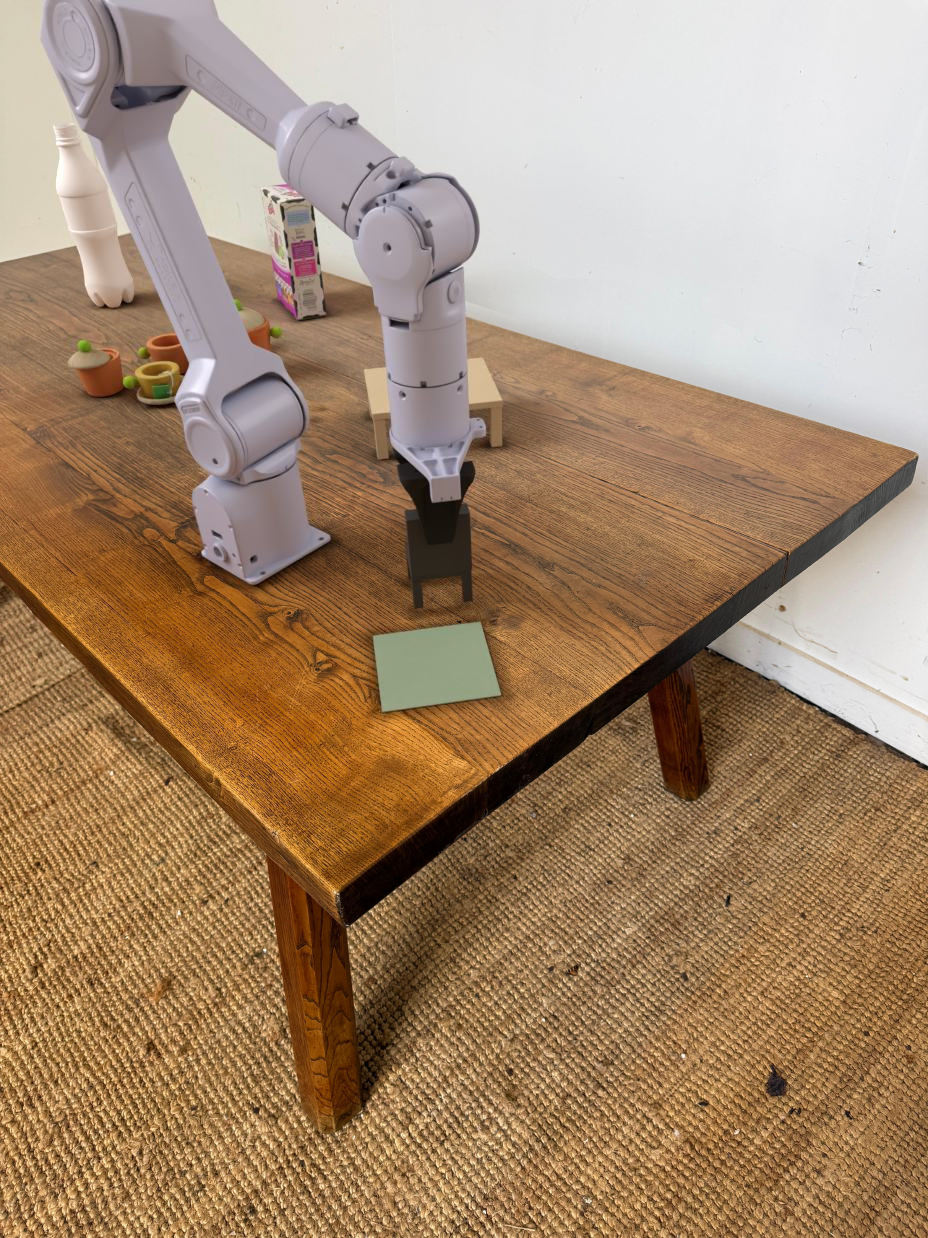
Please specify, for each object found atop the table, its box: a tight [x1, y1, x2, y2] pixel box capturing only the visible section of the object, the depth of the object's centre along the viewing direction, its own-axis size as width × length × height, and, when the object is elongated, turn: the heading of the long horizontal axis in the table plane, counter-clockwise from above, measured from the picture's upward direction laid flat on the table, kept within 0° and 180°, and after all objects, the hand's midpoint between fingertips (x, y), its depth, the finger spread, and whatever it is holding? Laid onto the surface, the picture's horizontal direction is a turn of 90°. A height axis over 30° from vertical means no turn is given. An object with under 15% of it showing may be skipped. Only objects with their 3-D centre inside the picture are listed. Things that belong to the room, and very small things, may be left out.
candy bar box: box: [260, 183, 328, 321], centre depth 130 cm, size 11×5×16 cm, turn 25°
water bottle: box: [52, 122, 135, 309], centre depth 132 cm, size 7×7×25 cm
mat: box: [372, 621, 502, 714], centre depth 69 cm, size 9×9×1 cm
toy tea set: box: [67, 298, 283, 406], centre depth 112 cm, size 26×16×10 cm, turn 126°
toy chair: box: [404, 502, 474, 610], centre depth 73 cm, size 5×5×9 cm
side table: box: [363, 357, 504, 460], centre depth 99 cm, size 12×14×6 cm
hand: (438, 534), depth 70 cm, fingers closed on toy chair
